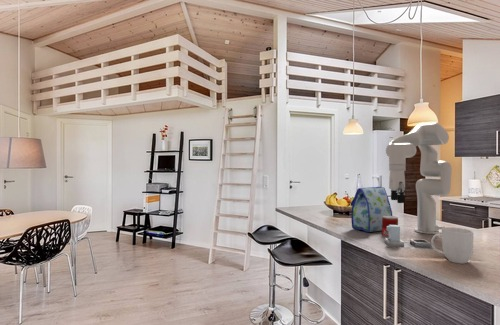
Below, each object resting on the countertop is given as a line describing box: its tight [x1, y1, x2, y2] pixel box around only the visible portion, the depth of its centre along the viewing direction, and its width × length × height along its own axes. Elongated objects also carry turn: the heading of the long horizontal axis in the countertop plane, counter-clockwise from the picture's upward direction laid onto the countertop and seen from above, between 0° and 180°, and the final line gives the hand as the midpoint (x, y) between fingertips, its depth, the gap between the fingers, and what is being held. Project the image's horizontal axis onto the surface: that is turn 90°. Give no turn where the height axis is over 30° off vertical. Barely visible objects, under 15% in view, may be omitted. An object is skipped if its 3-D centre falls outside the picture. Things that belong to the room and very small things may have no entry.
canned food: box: [381, 215, 399, 237], centre depth 167 cm, size 8×8×11 cm
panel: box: [379, 237, 435, 251], centre depth 147 cm, size 22×14×3 cm, turn 81°
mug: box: [430, 226, 474, 264], centre depth 127 cm, size 15×11×13 cm
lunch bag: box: [350, 186, 393, 233], centre depth 184 cm, size 22×17×26 cm
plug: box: [387, 224, 401, 241], centre depth 148 cm, size 5×4×9 cm
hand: (397, 201), depth 152 cm, fingers open, 9 cm apart
